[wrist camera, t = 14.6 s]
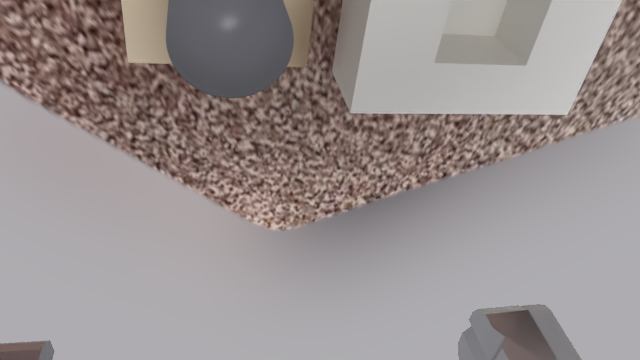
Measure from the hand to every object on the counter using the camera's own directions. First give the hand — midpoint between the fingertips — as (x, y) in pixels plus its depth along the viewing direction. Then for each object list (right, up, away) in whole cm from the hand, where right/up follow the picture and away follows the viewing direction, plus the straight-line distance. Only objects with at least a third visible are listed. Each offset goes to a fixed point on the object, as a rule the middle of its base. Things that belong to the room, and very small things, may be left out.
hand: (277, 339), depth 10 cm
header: (+9, +15, +21) cm, 27 cm away
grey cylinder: (-4, +14, +17) cm, 22 cm away
